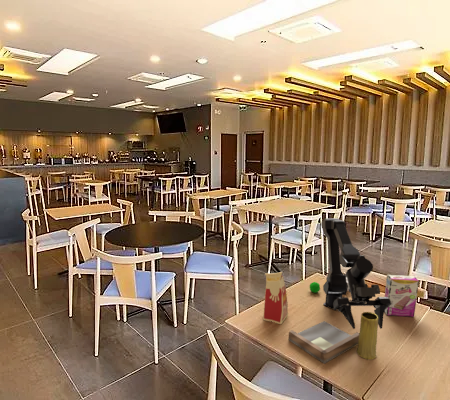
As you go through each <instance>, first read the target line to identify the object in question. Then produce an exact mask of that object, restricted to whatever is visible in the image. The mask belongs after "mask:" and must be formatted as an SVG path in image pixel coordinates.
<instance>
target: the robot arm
mask: <svg viewBox="0 0 450 400" xmlns="http://www.w3.org/2000/svg"><path fill="white" fill-rule="evenodd" d="M320 226H321V229H322V233H323V235H324V236H325V237H326V239H327V240H326V241H327V250H328V252H327V253H328V263H329V264H328V265H329V267H328V268H329V272H328V274H327V276H326V281H325V282H324V284H323V285H322V290H323V293H325V302H323V306H324V307H327V308H328V309H331V310H333V311H337V312H338V313H341V314H342V315H343V317H344V318H345V319H346V321H347V322H348V323H349V325H350V326H351V328H352V329H353V330H355V329H356V325H355V324H356V323H355V319H354V316H353V313H352V307H373V308H374V310H373V311H374V312H373V313H374V314H376V315H377V316H378V327H379V329H380V330H381V329H383V323H384V314H385V312H384V311H385V309H387V308H388V307H389V306H390V305H392V303H391V300H390V299H389V298H388V297H385V296H378V297H376V295H380V294H381V288H380V286H379V284H371V286H368V284H367V283H366V281H365V279H366V278H367V277H368V275H369V274H371V272H372V271H373V269H374V265H373V263H372V262H371V261H370V260H369V259H368V258H366V256H365V255H361V253H360V251H359V250H358V248H356V247H355V246H354V245H353V243H352V241H351V238H350V236H349V232H348V229H347V228H346V227H347V226H346V222H345V220H341V219H340V218H338V217H337V218H334V217H333V218H331V217H330V218H327V217H326V218H324V219H323V220H322V221H321V225H320ZM341 267H342V268H348V269H346V272H345V274H344V273H343V271H342V268H341ZM346 277H347V280H348V284H349V288H350V289H349V290H348V291H347V288H348V284H347V282H346ZM347 292H349V293H350V296H351V299H350V298H349V297H347ZM343 295H344V296H343ZM345 295H346V296H345ZM373 298H375V299H373Z"/></svg>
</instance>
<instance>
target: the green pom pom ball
mask: <svg viewBox="0 0 450 400" xmlns="http://www.w3.org/2000/svg"><path fill="white" fill-rule="evenodd" d="M309 290H310V291H311V293H318V292H320V290H321V286H320V284H319V283H318V282H317V281H314V282H311V283H310V284H309Z"/></svg>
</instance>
